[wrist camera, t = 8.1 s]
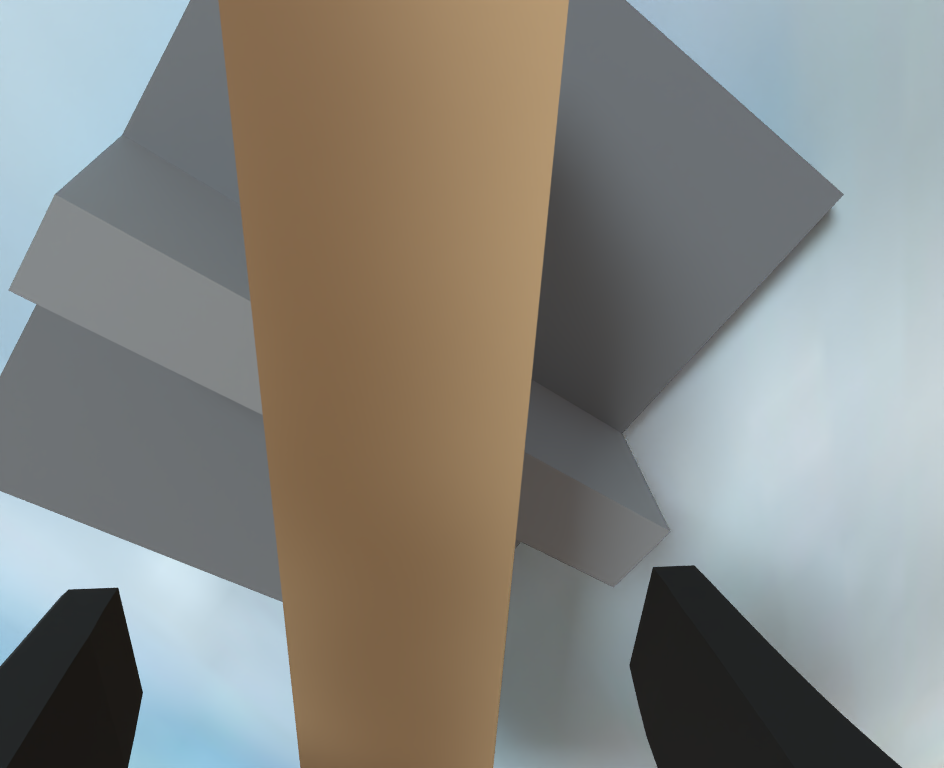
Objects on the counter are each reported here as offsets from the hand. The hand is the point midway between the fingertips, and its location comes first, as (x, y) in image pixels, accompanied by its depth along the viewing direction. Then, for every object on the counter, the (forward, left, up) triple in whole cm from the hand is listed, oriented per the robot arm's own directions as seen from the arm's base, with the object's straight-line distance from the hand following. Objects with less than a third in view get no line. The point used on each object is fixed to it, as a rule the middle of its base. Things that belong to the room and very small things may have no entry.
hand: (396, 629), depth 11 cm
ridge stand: (0, 0, -10) cm, 10 cm away
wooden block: (0, 0, -5) cm, 5 cm away
